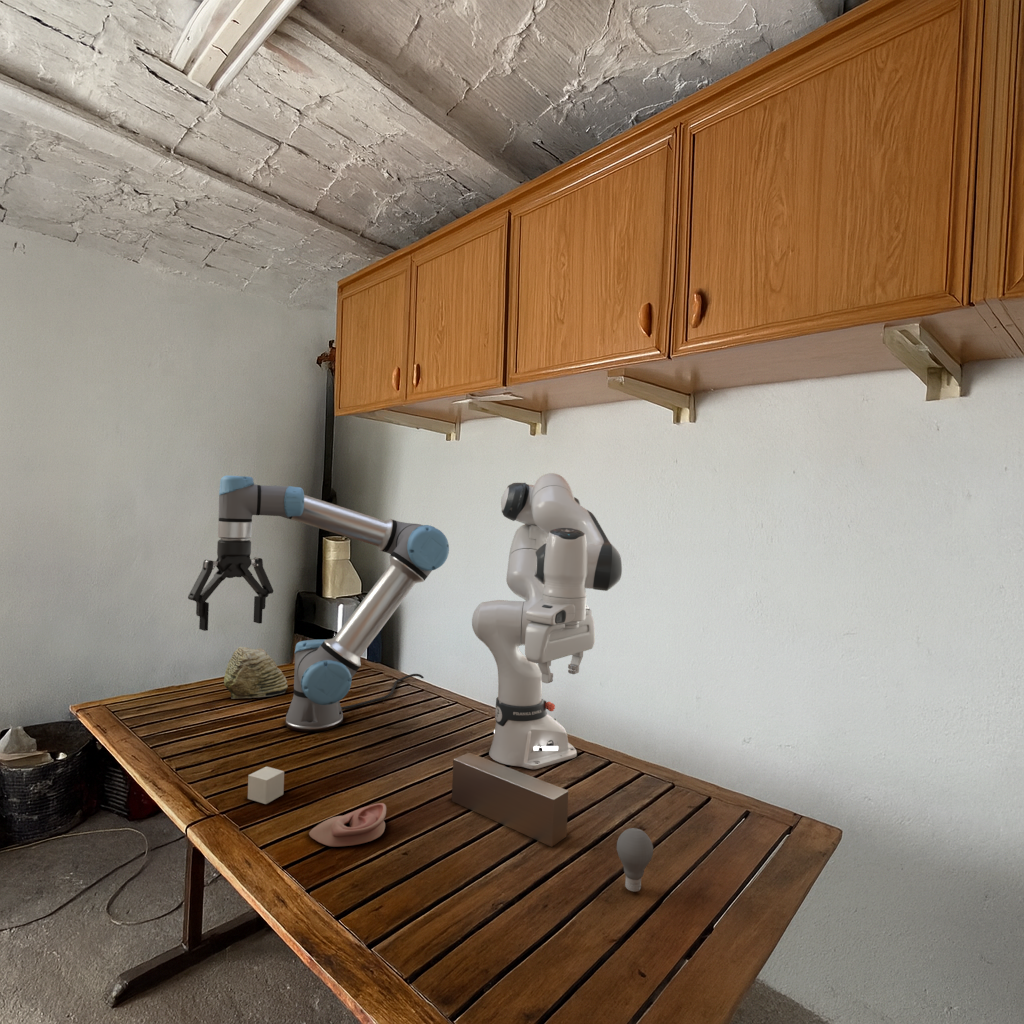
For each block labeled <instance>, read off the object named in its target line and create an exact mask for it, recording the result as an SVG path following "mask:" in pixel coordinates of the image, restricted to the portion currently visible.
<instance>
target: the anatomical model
mask: <svg viewBox="0 0 1024 1024" xmlns="http://www.w3.org/2000/svg"><path fill="white" fill-rule="evenodd" d="M386 816H387V805H386V804H385V803H383V802H378V803H373V804H370V805H368V806H364V807H360V808H358V809H355V810H353V811H351V812H348V813H346V814H344V815H343V814H342V815H337V816H333V817H331V818H328V819H326V820H323V821H322V822H320V823H318V824H317V825H315V826H314V827H313V828H311V830H309V832H308V835H309V837H310V838H311V839H313V840H315V841H316V842H318V843H319V844H321V845H325V846H327V847H333V848H335V847H348V846H349V847H350V846H357V845H361V844H365V843H368V842H372V841H374V840H376V839H378V838H380V837H381V836H382V835H383V834H384V832H385V829H386V822H385V819H386Z"/></svg>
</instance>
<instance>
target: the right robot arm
mask: <svg viewBox="0 0 1024 1024" xmlns="http://www.w3.org/2000/svg"><path fill="white" fill-rule="evenodd" d="M573 492H574V491H573V490H572V488H571V486H570V484H569V482H568V481H567V480H566V479H565V477H563V476H562V475H561V474H558V473H555V472H553V473H551V472H550V473H545V474H543V475H541V476H539V478H537V480H536V481H535V482H534V485H533V484H527V483H526V482H512V483H510V484H509V485H507V487H506V488H505V490H504V492H502V493H503V494H502V496H501V500H500V505H501V514H502V515H503V517H504V518H506V519H507V520H510V521H512V522H515V521H516V522H518V523H521V524H522V525H520V526H519V527H518V528H517V529H516V531H515V533H514V535H513V538H512V541H511V544H510V549H509V555H508V562H507V571H506V578H505V579H506V585H507V586H508V588H509V590H510V591H511V592H512V593H513V594H514V595H516V596H517V597H519V598H521V599H523V601H521V600H507V599H506V600H504V599H496V600H495V599H494V600H488V601H487V600H486V601H482V602H480V603H479V604H478V605H477V606H476V608H475V610H474V611H473V613H472V617H471V626H472V631H473V633H474V635H475V636H476V638H477V639H478V640H479V641H480V642H482V643H483V644H484V645H485V646H486V647H487V649H488V650H489V651H490V653H491V655H492V657H493V659H494V661H495V665H496V669H497V697H496V699H495V709H494V710H495V711H494V714H495V715H494V718H495V726H494V730H493V738H492V741H491V745H490V748H489V751H488V755H489V757H490V758H491V760H493V761H494V762H496V763H498V764H501V765H507V766H511V767H521V768H525V769H528V770H538V769H541V768H544V767H548V766H551V765H555V764H558V763H561V762H564V761H568V760H572V759H574V758H577V756H578V753H577V749H576V748H575V747H574V745H572V744H571V742H569V737H568V732H567V730H566V728H565V727H564V726H563V725H562V724H561V723H560V722H559V721H557V719H556V718H554V717H552V716H551V715H550V714H549V713H548V711H549V712H554V711H555V709H556V705H555V704H554V703H553V702H551V701H547V700H545V699H544V698H542V697H543V696H542V693H543V683H544V684H550V683H552V682H553V681H554V673H552V672H551V669H550V667H551V666H552V661H555V660H558V659H562V658H566V657H569V656H571V660H570V663H569V664H567V668H568V669H567V672H568V674H570V675H571V674H572V675H576V674H579V672H580V665H581V663H582V661H583V658H584V652H586V651H589V650H592V649H593V648H594V646H595V642H596V630H595V629H596V628H595V619H594V616H593V612H592V609H591V608H590V607H589V605H588V604H587V589H589V590H590V589H592V590H595V591H603V592H608V591H609V590H611V589H612V588H613V587H614V586H616V585H617V584H618V583H619V582H620V580H621V578H622V575H623V574H622V572H623V561H622V558H621V554H620V552H619V550H618V549H617V548H616V547H615V546H614V545H613V544H612V543H611V542H610V540H609V538H608V537H607V535H606V533H605V531H604V529H603V528H602V526H601V524H600V522H599V521H598V519H597V518H596V516H595V514H594V513H593V512H592V511H590V510H588V509H586V508H585V507H583V506H582V505H581V503H580V500H579V499H578V498H577V497H575V496H574V493H573ZM521 646H522V647H523V646H524V654H523V653H522V651H521V649H520V647H521ZM547 710H548V711H547Z"/></svg>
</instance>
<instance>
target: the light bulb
mask: <svg viewBox="0 0 1024 1024" xmlns="http://www.w3.org/2000/svg"><path fill="white" fill-rule="evenodd" d="M616 852H617V856H618V858H619V860H620V862H621V864H622V866H623V872H624V875H625V882H624V887H625V889H627V890H628V891H630V892H633V893H634V892H635V893H636V892H639V891H641V889H642V878H643V876H644V875H645V869H646V868H647V867H648V865H649V864H650V862H651V860H652V858H653V855H654V845H653V842H652V840H651V838H650V836H649V835H648V834H647V832H645V831H644V830H642V829H640V828H636V827H629V828H627V829H625V830H624V831H623V832H622V833H620V835H619V836H618V839H617V841H616Z"/></svg>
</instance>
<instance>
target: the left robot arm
mask: <svg viewBox="0 0 1024 1024" xmlns="http://www.w3.org/2000/svg"><path fill="white" fill-rule="evenodd" d="M218 492H219V493H218V521H217V526H218V527H217V537H218V538H219V539H218V540H217V547H216V550H217V551H216V554H217V558H216V560H210V559H204V560H203V562H202V569H201V571H200V573H199V574H198V577H197V578H196V580H195V582H194V584H193V586H192V587H191V590H190V592H189V594H188V596H187V599H188V600H190V601H194V602H195V603H196V609H195V614H196V616H197V617H199V625H198V629H199V630H201V631H203V632H206V631H209V611H210V609H209V607H210V604H209V603H210V602H208V601H207V600H208V599H209V598H210V597H211V595H212V594H213V593H214V592H215V590H217V588H218V587H219V586H220V584H221V583H222V582H223V581H225V580H226V578H227V579H233V578H243V579H244V580H245V581H246V583H247V584H248V585H249V586H250V587H251V589H252V590H253V591H254V592H255V593H256V595H255V596H253V597H254V599H253V600H254V601H253V623H256V624H263V610H265V609H266V604H267V603H266V602H267V600H266V599H267V598H268V597H269V595H270V594H271V595H272V594H273V593H274V588H273V586H272V584H271V582H270V580H269V577H268V575H267V572H266V570H265V568H264V561H263V558H261V557H257V556H254V558H251V553H252V541H251V540H250V539H251V538H252V537H253V536H252V535H253V529H252V527H253V523H252V522H253V516H270V517H282V518H283V519H288V520H291V521H294V522H298V523H301V524H305V525H308V526H311V527H314V528H316V529H321V530H324V531H327V532H331V533H334V534H337V535H340V536H343V537H346V538H349V539H353V540H356V541H359V542H363V543H367V544H369V545H373V546H375V547H377V549H378V550H379V551H380V552H383V553H385V554H389V565H388V566H387V568H386V569H385V571H384V572H383V573H382V574H381V575H380V577H379V578H378V579H377V581H376V582H375V583H374V585H373V586H372V588H371V589H370V590H369V591H368V593H367V594H366V595H365V596H364V598H363V599H362V601H361V602H359V604H358V605H357V607H356V608H355V610H354V611H353V612H352V614H351V615H350V616H349V617H348V619H346V621H345V622H344V624H343V625H342V627H341V628H340V629H339V631H337V633H336V634H335V636H333V637H332V638H327V639H307V640H301V641H298V642H297V643H296V644H295V648H294V649H295V650H294V672H293V673H294V674H293V675H294V676H293V695H292V696H293V697H292V699H291V702H290V704H289V708H288V710H287V711H286V712H285V726H286V728H287V729H289V730H291V731H294V732H295V731H296V732H301V733H316V732H325V731H329V730H332V729H335V728H337V727H339V726H340V725H342V723H343V722H344V714H343V710H348V709H353V708H357V707H361V706H365V705H368V704H371V703H375V702H379V701H383V700H385V699H387V698H390V697H391V696H392V695H393V694H394V693H395V692H394V691H395V689H396V687H397V684H398V683H399V682H403V681H404V680H406V679H409V678H412V677H419V678H420V679H424V678H425V677H424V676H423V675H422V674H421V673H411V674H408V675H405V676H403V677H400V678H398V679H396V680H395V681H394V683H393V686H392V687H391V690H390V692H389V693H388V694H386V695H383V696H380V697H377V698H373V699H370V700H366V701H361V702H358V703H355V704H350V705H343V706H341V702H340V701H341V700H343V699H344V698H345V697H346V696H347V695H348V693H349V692H350V689H351V687H352V681H353V677H354V676H355V675H356V674H357V672H358V671H359V669H360V668H361V666H362V662H361V657H362V655H363V654H364V653H365V652H366V650H367V649H368V648H369V646H370V645H371V644H372V643H373V641H374V639H375V638H376V637H377V636H378V635H379V633H380V631H381V630H382V629H383V627H384V626H385V625H386V624H387V622H388V621H389V619H390V618H391V617H392V616H393V614H394V613H395V612H396V611H397V609H398V608H399V606H400V605H401V604H402V602H403V601H404V599H405V598H406V597H407V596H408V594H409V593H410V592H411V590H412V589H413V588H414V587H415V586H416V584H418V583H424V582H425V581H426V579H427V578H428V577H429V575H430V574H431V573H432V572H433V571H435V570H438V569H439V568H441V567H442V566H443V565H444V564H445V563H446V561H447V559H448V557H449V554H450V546H449V545H450V544H449V541H448V539H447V536H446V535H445V534H444V532H443V531H442V530H440V529H438V528H437V527H435V526H433V525H429V524H420V523H413V522H412V523H411V522H404V521H399V520H395V519H392V518H388V519H387V520H384V519H381V518H377V517H375V516H372V515H368V514H365V513H362V512H359V511H356V510H353V509H349V508H348V507H347V508H346V507H343V506H340V505H338V504H334V503H332V502H328V501H325V500H322V499H318V498H316V497H312V496H309V495H306V494H305V492H304V489H303V488H302V487H300V486H293V485H260V484H255V481H254V477H252V476H246V475H244V476H243V475H223V476H222V477H221V478H220V481H219V491H218ZM251 566H252V567H253V569H254V572H255V574H256V576H257V579H258V580H257V579H256V578H255V577H254V575H253V573H252V572H251V571H250V570H249V568H250V567H251ZM215 568H217V570H216V572H215V573H214V574H213V577H212V578H211V579H210V580H209V578H210V576H211V574H212V572H213V570H214V569H215ZM208 581H209V582H208ZM207 582H208V583H207Z"/></svg>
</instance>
